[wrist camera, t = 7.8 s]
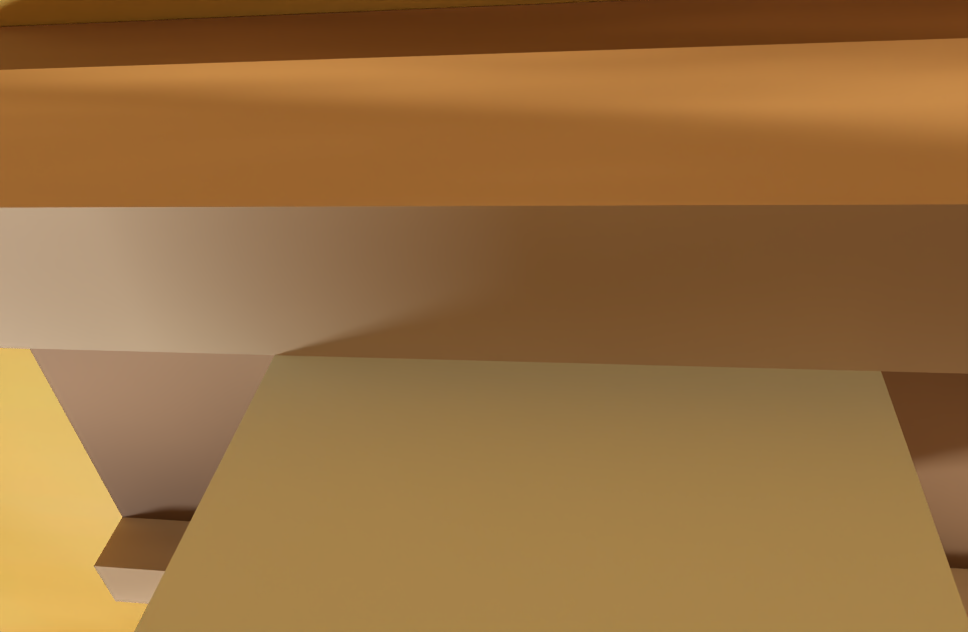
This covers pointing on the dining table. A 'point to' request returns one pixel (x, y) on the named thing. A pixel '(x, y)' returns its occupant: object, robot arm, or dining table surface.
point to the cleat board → (480, 213)
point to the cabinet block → (560, 504)
